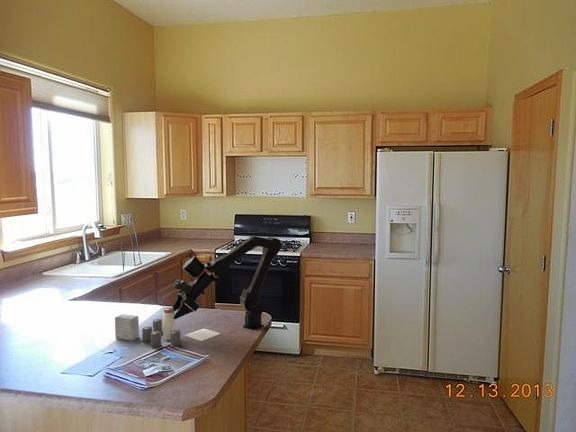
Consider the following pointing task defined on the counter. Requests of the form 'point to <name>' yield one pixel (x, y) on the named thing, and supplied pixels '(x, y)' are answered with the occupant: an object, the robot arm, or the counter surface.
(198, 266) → the robot arm
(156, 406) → the counter surface
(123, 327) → the medicine box
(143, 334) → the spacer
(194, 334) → the mat
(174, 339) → the spacer
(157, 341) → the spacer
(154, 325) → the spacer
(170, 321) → the jar
